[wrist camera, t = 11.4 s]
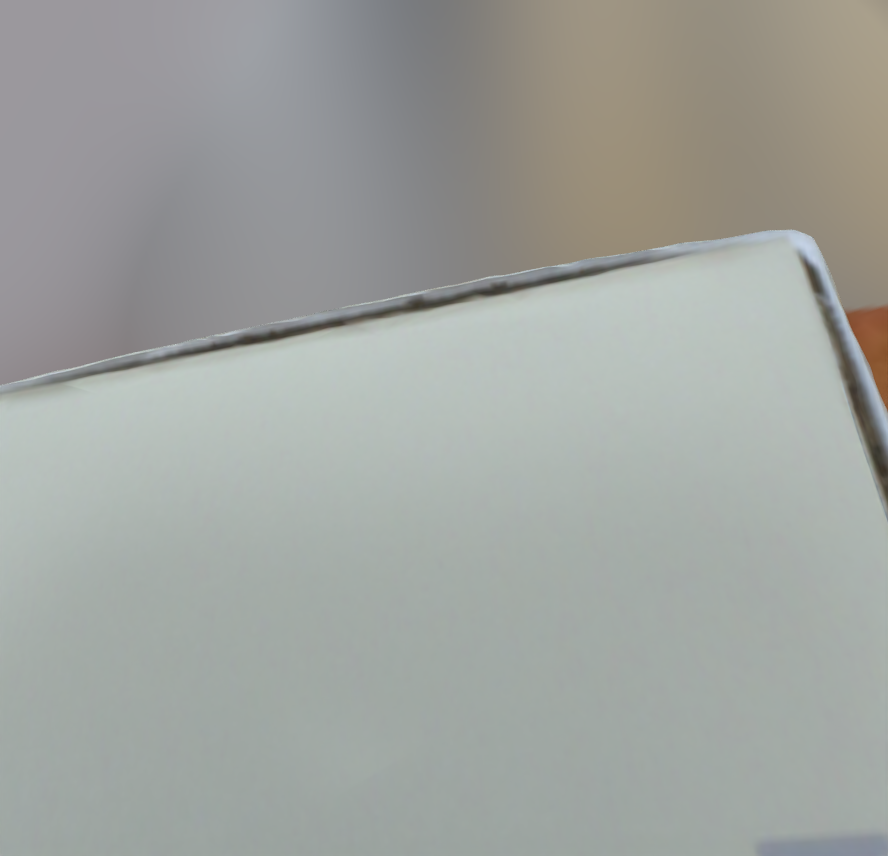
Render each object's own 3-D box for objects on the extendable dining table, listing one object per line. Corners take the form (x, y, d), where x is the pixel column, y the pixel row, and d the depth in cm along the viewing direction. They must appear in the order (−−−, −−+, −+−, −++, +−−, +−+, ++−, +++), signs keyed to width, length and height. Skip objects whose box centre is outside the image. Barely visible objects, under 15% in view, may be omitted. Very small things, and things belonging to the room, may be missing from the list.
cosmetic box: (672, 568, 15) (884, 179, 4) (719, 797, 14) (1307, 1230, 2) (379, 604, 16) (-114, 371, 5) (391, 822, 14) (-304, 1212, 3)
